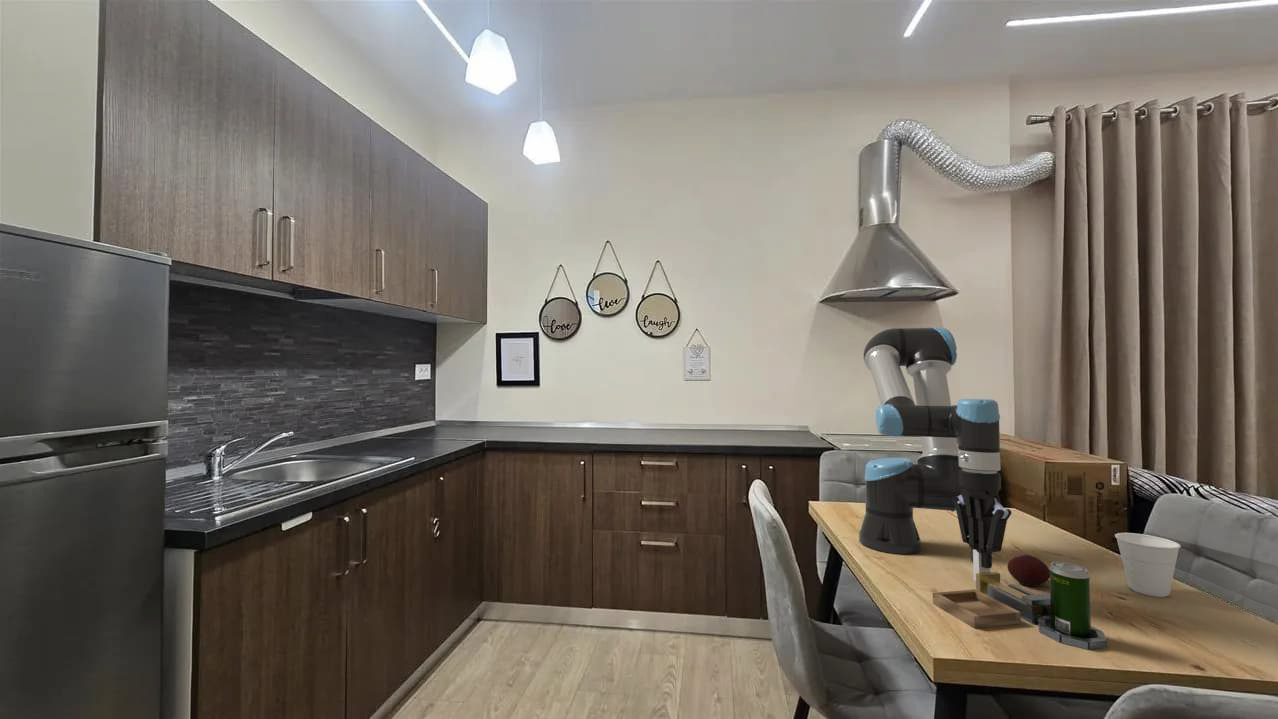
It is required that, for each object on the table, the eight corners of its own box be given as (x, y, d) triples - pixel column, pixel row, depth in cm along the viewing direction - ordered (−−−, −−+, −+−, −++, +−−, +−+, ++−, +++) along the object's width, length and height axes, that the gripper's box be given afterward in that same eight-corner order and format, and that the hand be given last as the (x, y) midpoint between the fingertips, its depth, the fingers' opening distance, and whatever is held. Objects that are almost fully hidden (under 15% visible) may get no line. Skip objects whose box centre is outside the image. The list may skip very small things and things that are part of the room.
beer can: (1085, 646, 84) (1083, 575, 84) (1046, 632, 89) (1044, 565, 89) (1095, 637, 87) (1093, 568, 87) (1057, 624, 92) (1055, 559, 92)
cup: (1167, 586, 108) (1165, 536, 108) (1194, 605, 99) (1192, 550, 99) (1107, 579, 112) (1106, 530, 113) (1129, 596, 103) (1127, 543, 104)
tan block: (976, 592, 104) (975, 573, 105) (996, 590, 105) (995, 571, 105) (1025, 617, 94) (1024, 595, 94) (1047, 615, 94) (1046, 594, 95)
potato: (999, 580, 112) (998, 553, 112) (1023, 574, 115) (1023, 548, 115) (1037, 593, 105) (1036, 565, 105) (1061, 586, 108) (1060, 559, 108)
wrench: (981, 601, 101) (981, 580, 101) (1019, 598, 102) (1018, 577, 102) (1076, 651, 83) (1075, 625, 83) (1120, 646, 84) (1119, 620, 84)
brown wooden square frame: (932, 603, 100) (932, 592, 100) (975, 599, 102) (975, 589, 102) (974, 628, 90) (974, 616, 90) (1020, 623, 92) (1020, 612, 92)
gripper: (940, 465, 113) (943, 570, 111) (990, 476, 100) (993, 595, 99) (969, 464, 114) (972, 568, 113) (1022, 475, 101) (1025, 592, 100)
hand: (982, 581), depth 106 cm, fingers closed
